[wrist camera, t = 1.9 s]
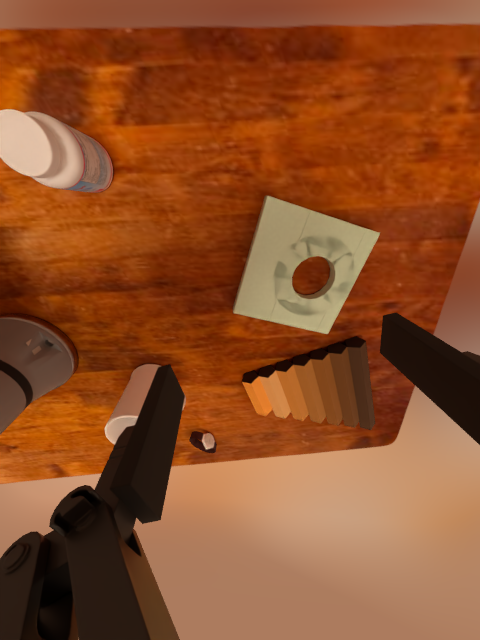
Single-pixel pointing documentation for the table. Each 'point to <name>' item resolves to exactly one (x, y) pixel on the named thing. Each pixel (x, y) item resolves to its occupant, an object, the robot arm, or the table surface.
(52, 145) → the pill bottle
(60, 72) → the table surface
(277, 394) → the pan flute
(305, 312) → the mounting pad
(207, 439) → the watch
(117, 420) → the mug
